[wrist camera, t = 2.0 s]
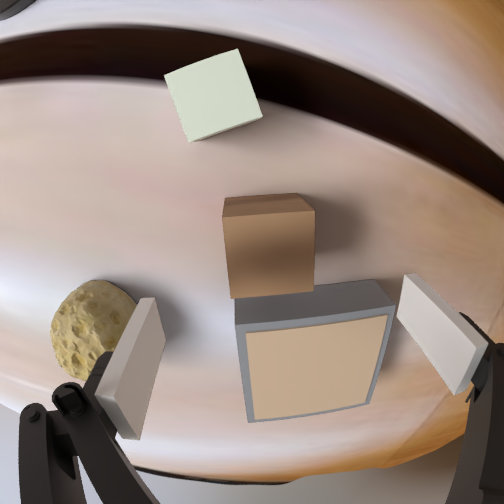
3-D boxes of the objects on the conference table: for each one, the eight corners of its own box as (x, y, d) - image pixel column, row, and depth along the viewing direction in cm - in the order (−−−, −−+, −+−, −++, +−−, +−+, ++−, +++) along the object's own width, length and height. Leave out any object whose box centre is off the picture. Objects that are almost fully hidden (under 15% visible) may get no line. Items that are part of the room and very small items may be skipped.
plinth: (234, 293, 28) (234, 326, 23) (374, 278, 28) (397, 306, 23) (245, 390, 33) (248, 424, 28) (356, 375, 33) (369, 405, 29)
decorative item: (98, 260, 30) (23, 298, 22) (149, 284, 24) (53, 340, 17) (120, 329, 33) (57, 369, 26) (171, 363, 28) (99, 418, 21)
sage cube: (178, 86, 20) (163, 75, 16) (237, 65, 20) (237, 48, 15) (198, 141, 22) (188, 142, 18) (257, 120, 22) (262, 116, 17)
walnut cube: (225, 197, 24) (222, 217, 19) (296, 192, 24) (314, 210, 19) (231, 263, 27) (230, 298, 21) (297, 258, 27) (313, 291, 21)
